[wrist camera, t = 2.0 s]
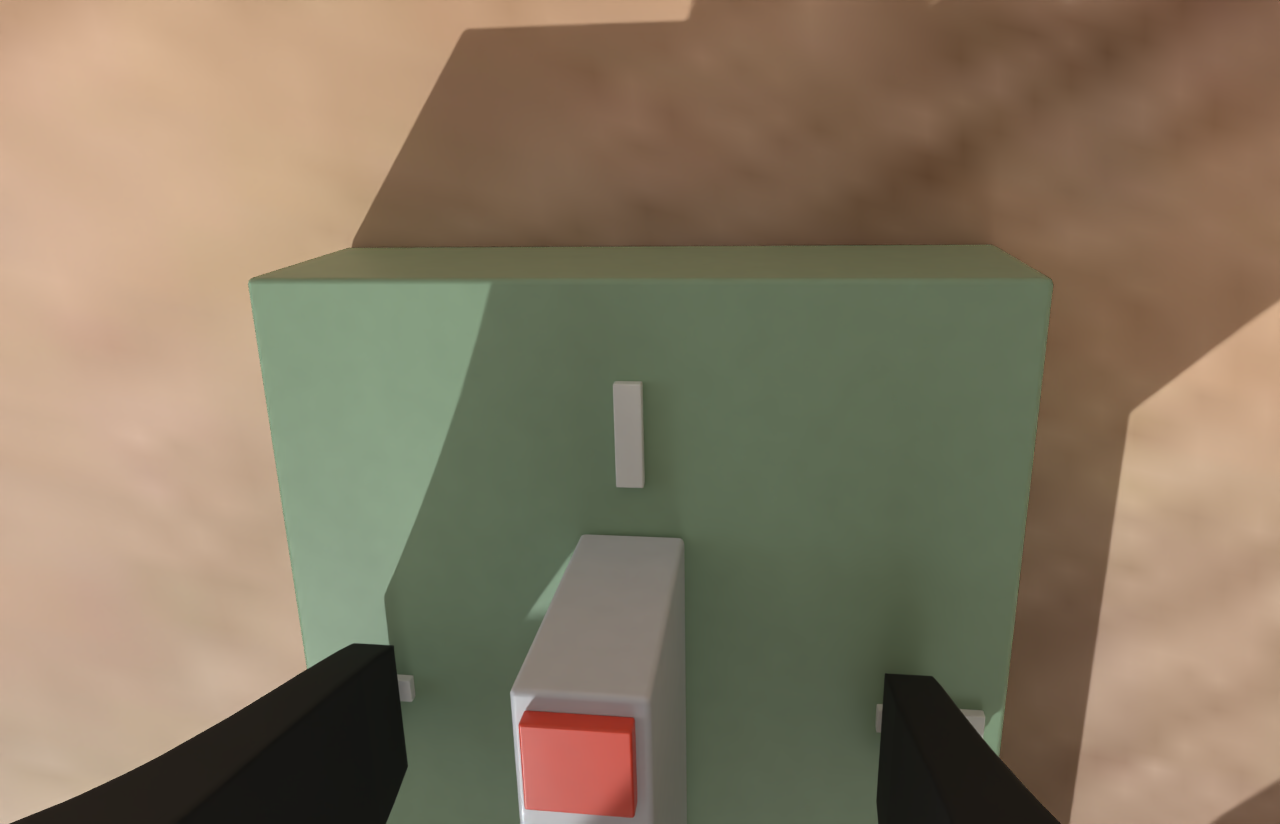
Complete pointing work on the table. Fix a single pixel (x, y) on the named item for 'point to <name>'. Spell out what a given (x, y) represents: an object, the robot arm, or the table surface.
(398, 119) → the table surface
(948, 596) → the plate
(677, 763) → the tap handle
